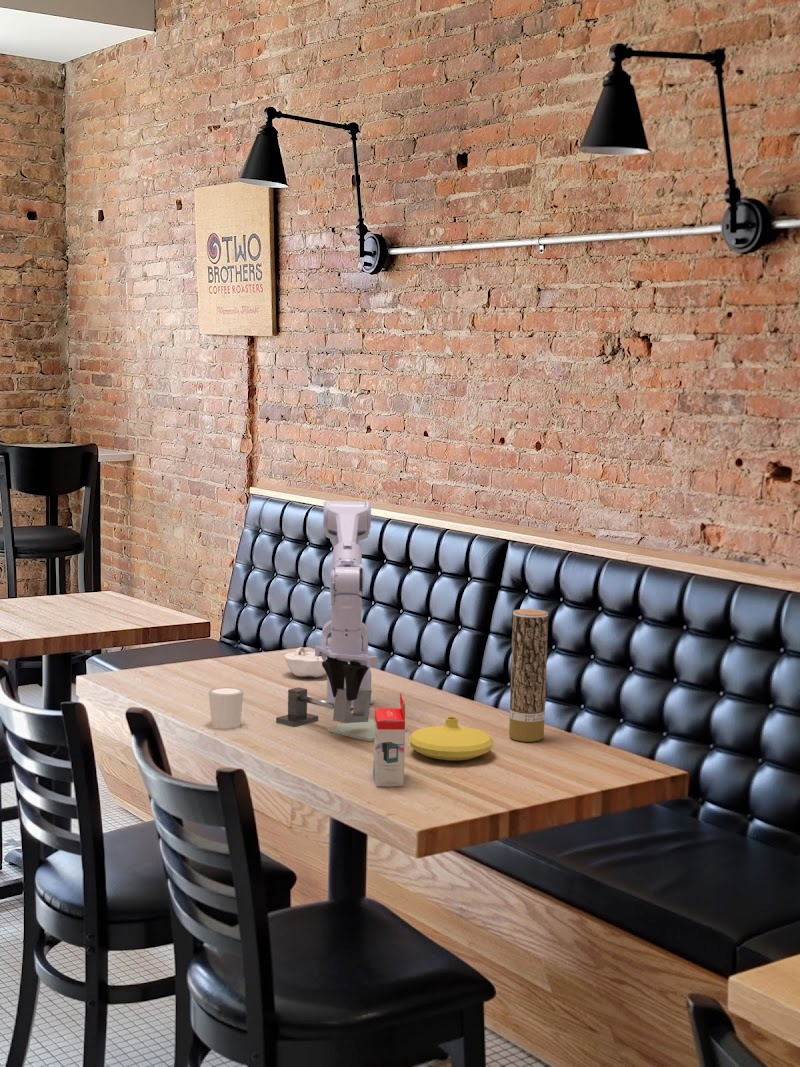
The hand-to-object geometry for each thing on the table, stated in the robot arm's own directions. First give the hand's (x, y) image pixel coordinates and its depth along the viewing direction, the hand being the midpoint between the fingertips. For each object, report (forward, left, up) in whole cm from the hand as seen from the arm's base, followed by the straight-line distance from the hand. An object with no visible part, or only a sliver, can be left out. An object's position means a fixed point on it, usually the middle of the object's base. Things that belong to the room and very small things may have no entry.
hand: (344, 698), depth 258 cm
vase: (-5, +22, -8) cm, 24 cm away
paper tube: (-25, +25, -8) cm, 36 cm away
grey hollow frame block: (-2, 0, -6) cm, 6 cm away
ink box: (+15, +24, -8) cm, 29 cm away
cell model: (-33, -42, -8) cm, 54 cm away
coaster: (-7, 0, -8) cm, 10 cm away
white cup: (+10, -23, -8) cm, 26 cm away
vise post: (-2, -11, -8) cm, 14 cm away
